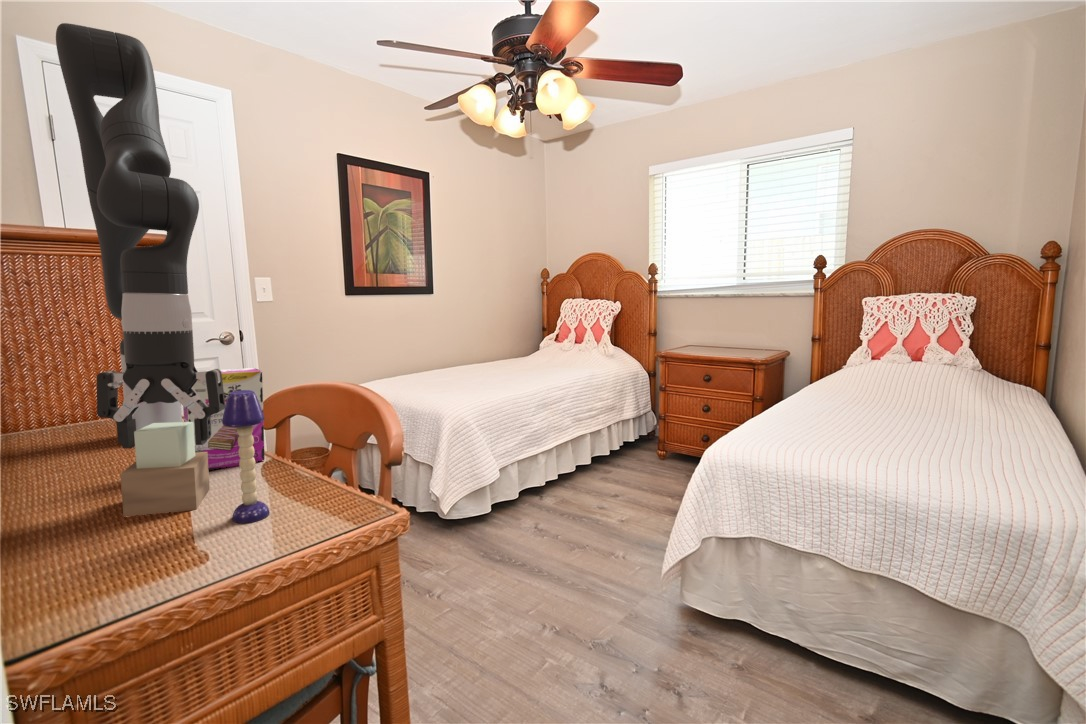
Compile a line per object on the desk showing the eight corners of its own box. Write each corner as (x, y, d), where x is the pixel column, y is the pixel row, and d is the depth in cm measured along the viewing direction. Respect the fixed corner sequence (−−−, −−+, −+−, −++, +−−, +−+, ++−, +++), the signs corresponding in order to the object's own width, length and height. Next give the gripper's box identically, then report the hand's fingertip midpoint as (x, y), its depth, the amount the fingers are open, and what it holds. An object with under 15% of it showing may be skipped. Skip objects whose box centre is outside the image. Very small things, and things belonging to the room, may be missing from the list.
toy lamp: (262, 523, 65) (256, 394, 63) (221, 526, 64) (214, 394, 62) (273, 509, 70) (268, 388, 68) (235, 511, 69) (229, 388, 67)
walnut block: (144, 497, 74) (141, 456, 73) (209, 490, 77) (207, 451, 76) (123, 518, 66) (120, 474, 66) (196, 510, 69) (194, 467, 69)
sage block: (155, 457, 73) (153, 423, 72) (195, 455, 74) (193, 421, 73) (136, 468, 68) (134, 431, 67) (179, 466, 69) (177, 430, 68)
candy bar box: (191, 475, 83) (185, 374, 81) (185, 468, 86) (179, 371, 84) (267, 461, 90) (263, 369, 89) (258, 455, 94) (254, 366, 92)
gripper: (227, 326, 74) (233, 436, 76) (111, 326, 71) (120, 441, 72) (208, 329, 67) (214, 450, 69) (77, 329, 63) (88, 456, 65)
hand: (166, 445), depth 71 cm, fingers open, 8 cm apart
